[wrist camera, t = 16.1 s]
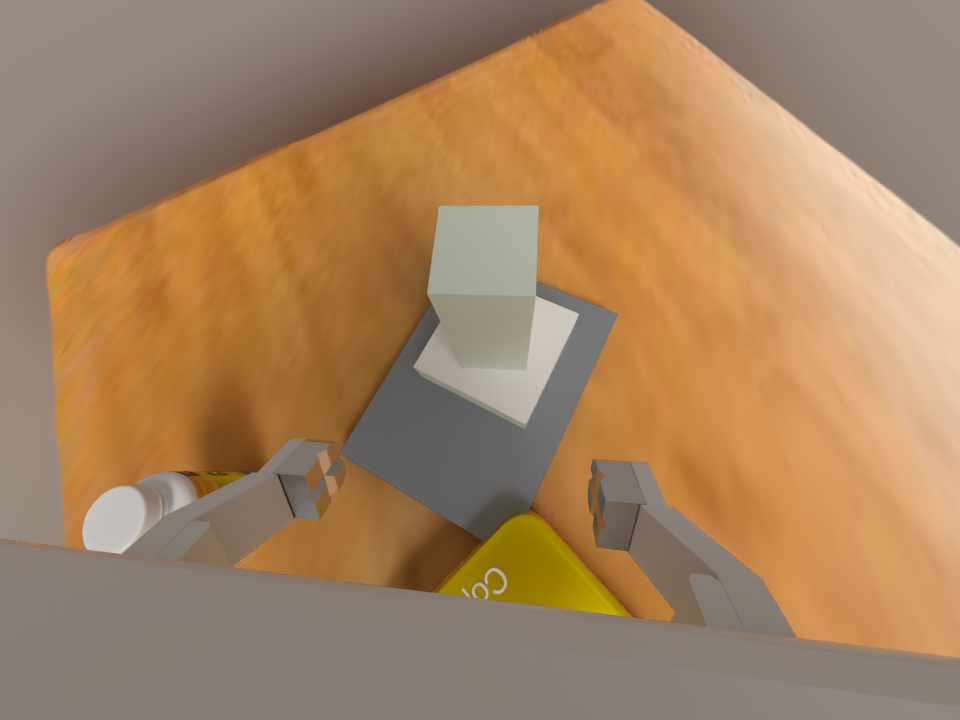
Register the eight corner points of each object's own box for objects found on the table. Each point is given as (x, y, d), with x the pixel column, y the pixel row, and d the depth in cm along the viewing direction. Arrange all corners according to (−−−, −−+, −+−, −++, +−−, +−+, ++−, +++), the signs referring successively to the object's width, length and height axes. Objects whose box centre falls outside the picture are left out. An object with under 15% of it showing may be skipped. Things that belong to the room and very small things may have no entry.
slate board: (508, 551, 27) (507, 567, 23) (347, 453, 30) (320, 451, 26) (613, 320, 32) (628, 297, 28) (465, 260, 36) (458, 231, 31)
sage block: (526, 371, 27) (535, 296, 15) (462, 368, 27) (426, 293, 16) (528, 312, 28) (538, 205, 17) (468, 311, 29) (439, 206, 17)
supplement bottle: (269, 463, 31) (158, 459, 21) (276, 527, 29) (157, 556, 19) (210, 482, 31) (71, 487, 21) (213, 549, 29) (63, 587, 19)
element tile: (524, 496, 28) (526, 501, 24) (676, 664, 24) (713, 709, 20) (385, 638, 26) (359, 674, 22) (525, 851, 22) (529, 951, 17)
